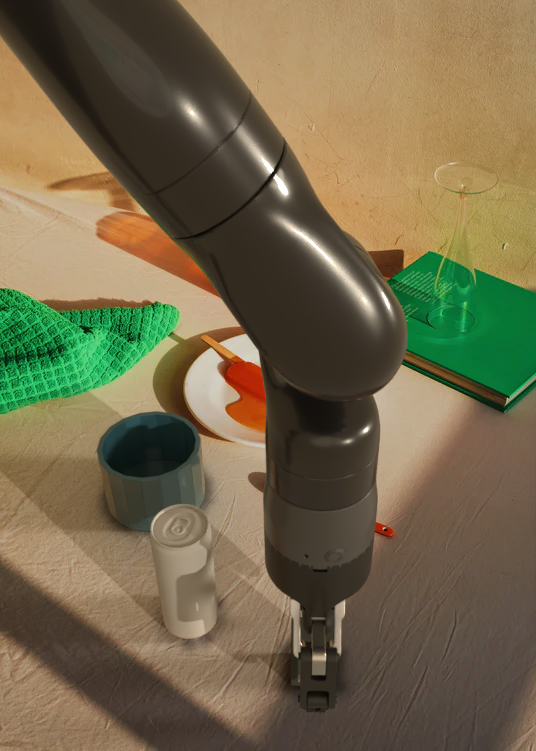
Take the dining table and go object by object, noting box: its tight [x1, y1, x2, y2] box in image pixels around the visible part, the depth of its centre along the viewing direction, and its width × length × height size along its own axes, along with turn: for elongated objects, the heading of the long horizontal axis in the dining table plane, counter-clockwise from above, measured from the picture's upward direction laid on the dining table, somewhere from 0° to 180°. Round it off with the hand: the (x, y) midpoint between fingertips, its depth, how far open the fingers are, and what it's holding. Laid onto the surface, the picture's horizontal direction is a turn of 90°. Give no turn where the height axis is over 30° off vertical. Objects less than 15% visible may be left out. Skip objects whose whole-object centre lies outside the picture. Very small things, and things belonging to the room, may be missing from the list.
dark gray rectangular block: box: [290, 616, 334, 687], centre depth 59 cm, size 3×4×5 cm
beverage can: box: [149, 504, 219, 640], centre depth 61 cm, size 5×5×12 cm
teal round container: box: [96, 410, 206, 532], centre depth 74 cm, size 10×10×7 cm
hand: (314, 654), depth 59 cm, fingers open, 8 cm apart
